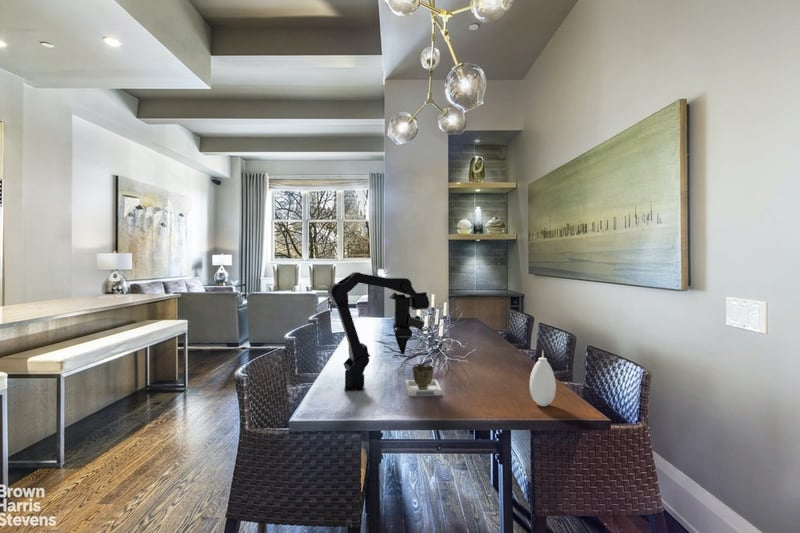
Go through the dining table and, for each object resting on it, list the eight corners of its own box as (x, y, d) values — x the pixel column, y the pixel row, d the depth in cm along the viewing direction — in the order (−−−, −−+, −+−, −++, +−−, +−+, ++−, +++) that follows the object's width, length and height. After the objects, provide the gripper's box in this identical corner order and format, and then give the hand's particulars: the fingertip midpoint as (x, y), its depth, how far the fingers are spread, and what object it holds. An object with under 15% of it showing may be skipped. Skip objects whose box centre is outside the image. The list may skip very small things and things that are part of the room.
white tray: (408, 396, 131) (408, 390, 131) (405, 385, 143) (405, 380, 143) (441, 396, 132) (441, 390, 132) (436, 384, 144) (436, 379, 144)
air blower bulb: (525, 401, 127) (526, 347, 127) (548, 400, 128) (549, 347, 128) (535, 410, 120) (536, 353, 119) (559, 409, 120) (560, 352, 120)
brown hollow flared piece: (409, 390, 136) (409, 368, 135) (416, 384, 142) (416, 363, 142) (429, 393, 133) (429, 370, 133) (435, 387, 140) (435, 365, 139)
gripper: (426, 313, 138) (425, 356, 138) (420, 307, 156) (420, 345, 157) (395, 313, 137) (395, 357, 137) (393, 307, 156) (393, 345, 156)
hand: (402, 350), depth 147 cm, fingers open, 9 cm apart
